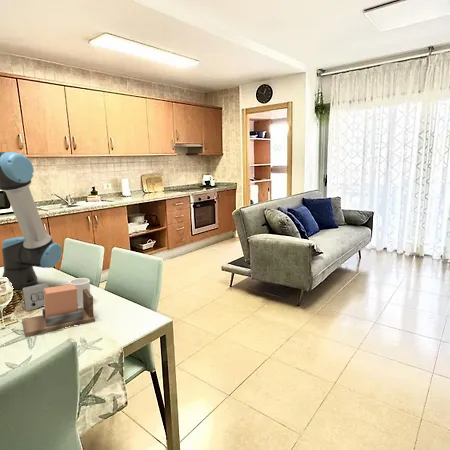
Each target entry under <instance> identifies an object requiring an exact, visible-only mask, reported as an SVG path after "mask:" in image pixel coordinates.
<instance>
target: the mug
mask: <svg viewBox="0 0 450 450" xmlns="http://www.w3.org/2000/svg"><path fill="white" fill-rule="evenodd" d="M70 284H74V285H75V287H76V288H77V303H78V308H81V307H83V289H87V290H88V291H89V292H90V293H91V280H90V279H89V278H87V277H77V278H73V279H71V280H69V282H68V285H70Z"/></svg>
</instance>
